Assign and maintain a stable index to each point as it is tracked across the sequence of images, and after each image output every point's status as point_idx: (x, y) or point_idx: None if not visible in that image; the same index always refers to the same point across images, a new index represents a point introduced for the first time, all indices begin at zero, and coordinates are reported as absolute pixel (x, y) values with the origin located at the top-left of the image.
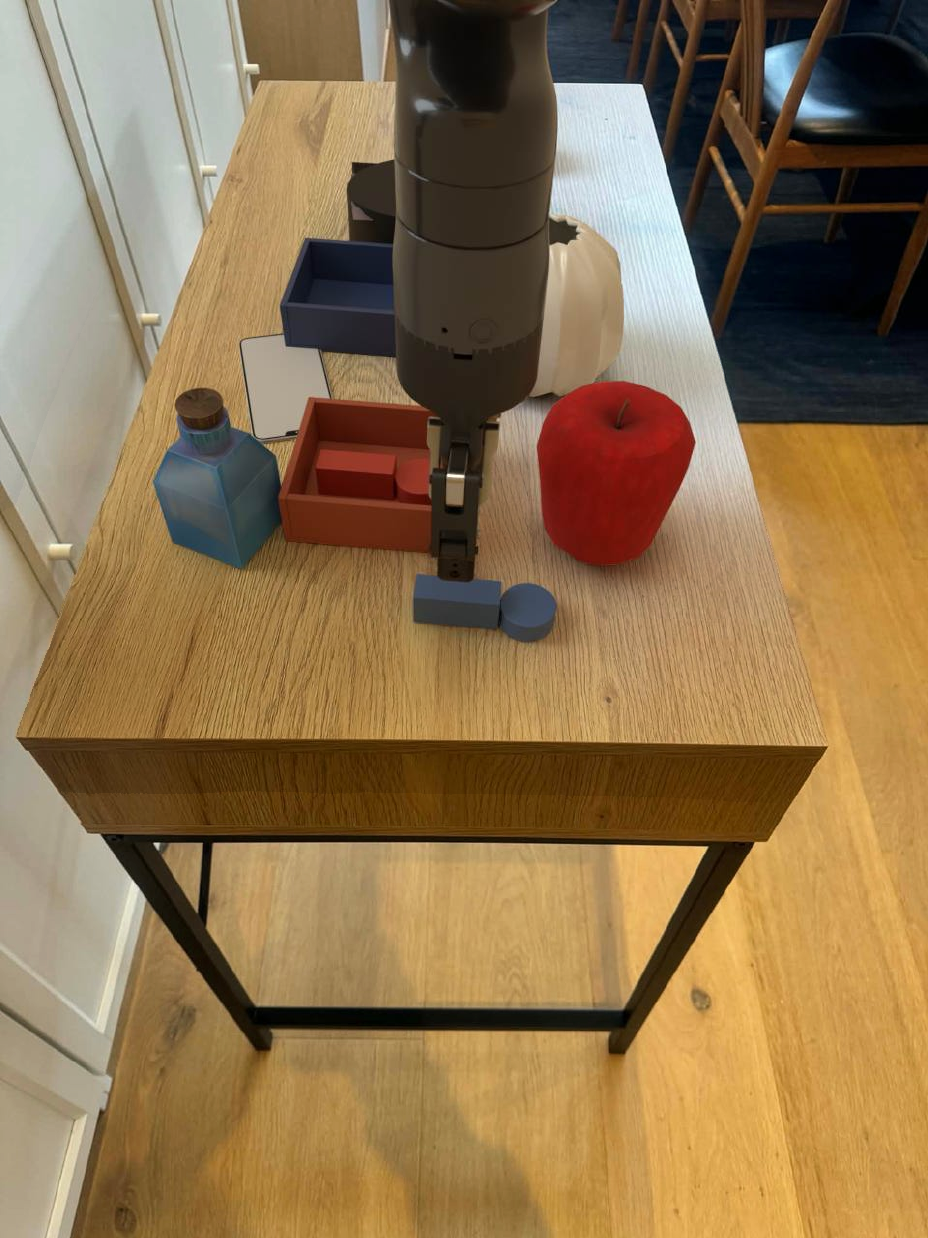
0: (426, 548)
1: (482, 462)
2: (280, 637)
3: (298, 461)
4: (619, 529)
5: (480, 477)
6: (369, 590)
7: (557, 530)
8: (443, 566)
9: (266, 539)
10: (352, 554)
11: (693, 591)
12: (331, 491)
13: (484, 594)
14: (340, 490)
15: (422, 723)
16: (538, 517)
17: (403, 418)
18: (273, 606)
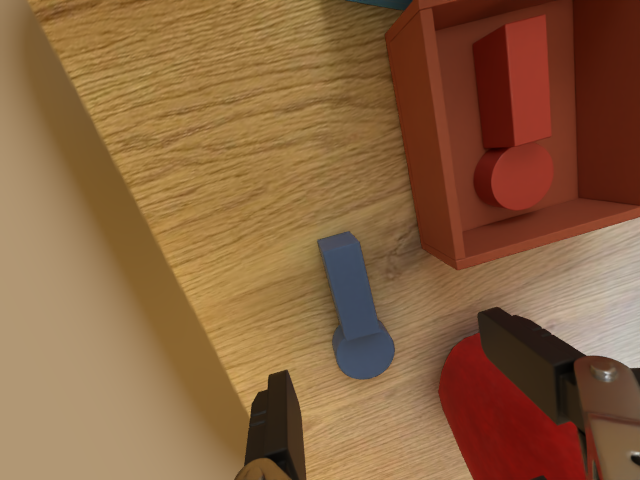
0: (419, 216)
1: (516, 384)
2: (238, 102)
3: None
4: (466, 462)
5: (492, 359)
6: (343, 175)
7: (462, 371)
8: (249, 426)
9: (378, 5)
10: (388, 132)
11: (438, 449)
12: (478, 61)
13: (355, 322)
14: (481, 74)
15: (201, 296)
16: (495, 304)
17: (626, 117)
18: (278, 70)
